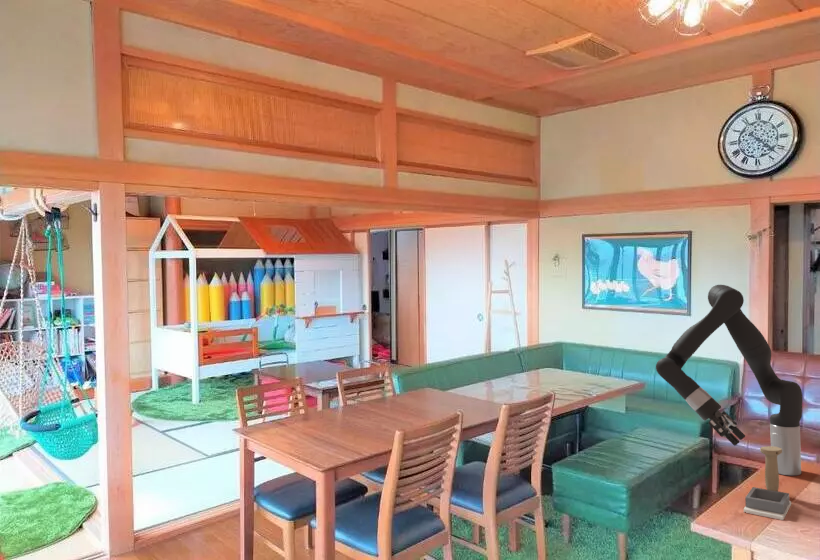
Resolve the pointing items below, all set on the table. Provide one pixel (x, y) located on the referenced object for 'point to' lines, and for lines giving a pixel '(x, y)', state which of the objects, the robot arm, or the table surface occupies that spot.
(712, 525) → the table surface
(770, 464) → the handle
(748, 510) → the holder
